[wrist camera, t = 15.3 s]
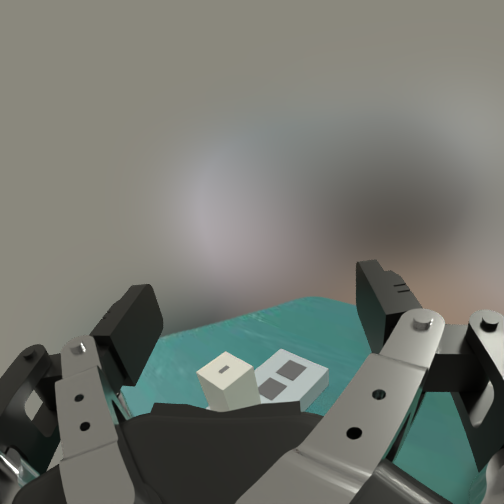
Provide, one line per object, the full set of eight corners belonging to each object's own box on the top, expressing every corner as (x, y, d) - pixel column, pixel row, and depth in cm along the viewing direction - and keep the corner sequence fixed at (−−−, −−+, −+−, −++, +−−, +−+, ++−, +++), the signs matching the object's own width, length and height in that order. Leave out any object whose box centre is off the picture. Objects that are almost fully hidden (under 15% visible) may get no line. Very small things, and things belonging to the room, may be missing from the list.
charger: (243, 413, 40) (225, 350, 35) (266, 427, 37) (252, 365, 32) (219, 431, 37) (195, 371, 32) (243, 448, 34) (222, 389, 29)
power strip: (283, 364, 49) (280, 345, 47) (328, 384, 43) (328, 365, 41) (188, 440, 37) (179, 423, 35) (233, 477, 30) (225, 462, 29)
